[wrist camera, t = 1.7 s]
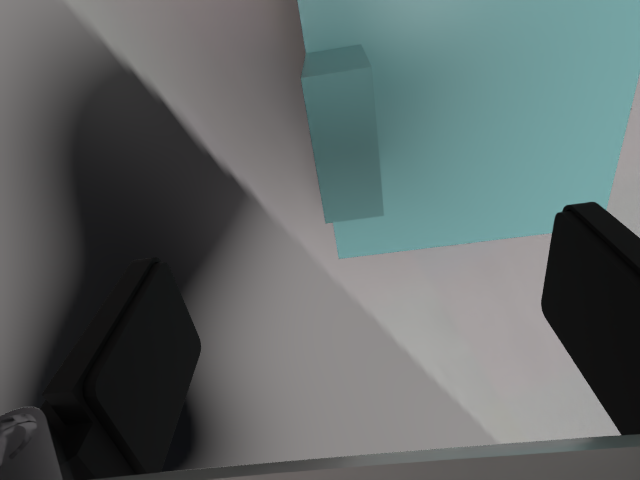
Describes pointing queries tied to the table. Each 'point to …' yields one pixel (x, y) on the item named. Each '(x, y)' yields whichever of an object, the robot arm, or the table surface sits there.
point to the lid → (464, 114)
